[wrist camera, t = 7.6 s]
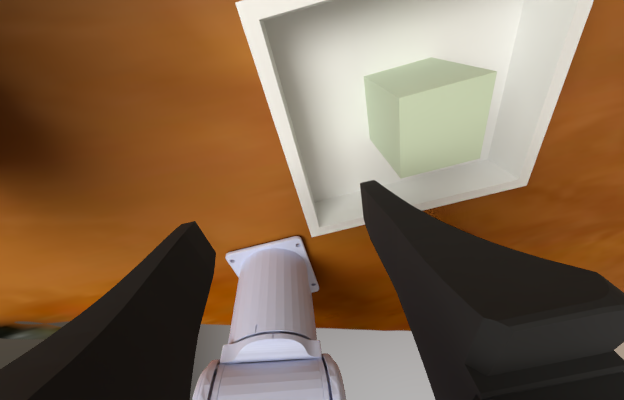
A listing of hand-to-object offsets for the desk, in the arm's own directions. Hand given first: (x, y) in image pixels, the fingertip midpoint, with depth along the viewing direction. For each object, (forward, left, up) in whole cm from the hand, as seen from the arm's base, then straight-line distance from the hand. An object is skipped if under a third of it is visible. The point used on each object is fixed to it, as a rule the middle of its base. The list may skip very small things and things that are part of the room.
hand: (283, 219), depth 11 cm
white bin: (0, -9, -10) cm, 13 cm away
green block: (+1, -9, -9) cm, 13 cm away
